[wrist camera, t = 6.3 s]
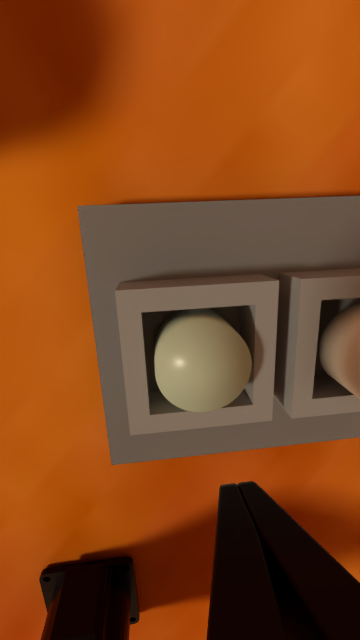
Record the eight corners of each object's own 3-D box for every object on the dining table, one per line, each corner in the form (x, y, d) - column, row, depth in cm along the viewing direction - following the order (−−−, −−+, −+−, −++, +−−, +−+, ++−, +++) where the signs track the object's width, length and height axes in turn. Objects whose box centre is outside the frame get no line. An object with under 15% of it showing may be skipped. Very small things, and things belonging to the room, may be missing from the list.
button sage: (233, 378, 16) (250, 407, 13) (156, 385, 16) (158, 416, 13) (234, 303, 15) (252, 318, 12) (150, 309, 15) (151, 326, 12)
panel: (482, 403, 21) (559, 442, 17) (115, 441, 19) (106, 497, 15) (540, 192, 17) (658, 179, 13) (86, 209, 15) (64, 200, 11)
